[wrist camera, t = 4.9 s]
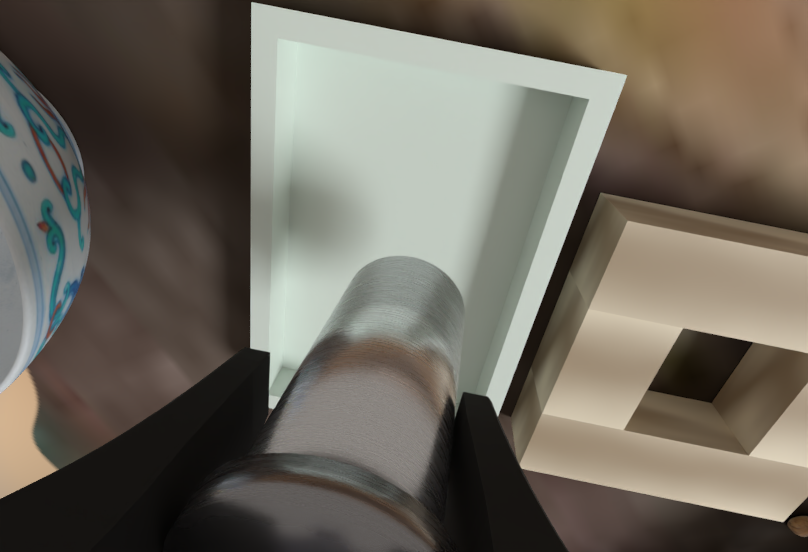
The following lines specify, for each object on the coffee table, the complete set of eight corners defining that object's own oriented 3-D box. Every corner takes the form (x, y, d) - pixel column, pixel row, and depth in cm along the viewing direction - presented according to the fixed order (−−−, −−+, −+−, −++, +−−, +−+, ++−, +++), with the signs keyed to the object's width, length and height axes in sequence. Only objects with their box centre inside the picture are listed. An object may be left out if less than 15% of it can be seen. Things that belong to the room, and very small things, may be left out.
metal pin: (459, 382, 16) (428, 709, 8) (328, 350, 16) (176, 634, 8) (494, 263, 13) (496, 559, 6) (340, 229, 14) (145, 463, 6)
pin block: (744, 465, 22) (783, 522, 20) (510, 417, 22) (518, 467, 20) (915, 254, 17) (1002, 295, 14) (600, 192, 17) (627, 220, 14)
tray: (481, 411, 22) (484, 452, 20) (270, 368, 23) (250, 403, 20) (601, 70, 15) (627, 75, 13) (281, 7, 15) (251, 1, 13)
